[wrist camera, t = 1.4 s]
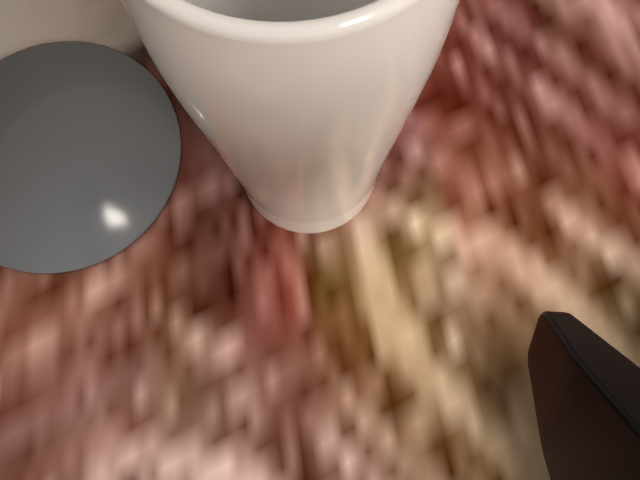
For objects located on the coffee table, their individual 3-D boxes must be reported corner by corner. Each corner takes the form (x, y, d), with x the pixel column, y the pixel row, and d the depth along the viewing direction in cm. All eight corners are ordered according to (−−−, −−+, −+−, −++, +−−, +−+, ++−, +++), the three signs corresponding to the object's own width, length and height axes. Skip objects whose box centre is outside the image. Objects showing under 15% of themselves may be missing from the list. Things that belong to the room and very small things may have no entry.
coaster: (77, 324, 22) (73, 323, 22) (-113, 186, 24) (-119, 184, 24) (229, 123, 24) (228, 119, 24) (45, 5, 26) (42, 1, 25)
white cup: (238, 268, 23) (83, 75, 8) (216, 111, 24) (54, -286, 10) (408, 240, 23) (549, 3, 8) (376, 85, 25) (449, -340, 10)
